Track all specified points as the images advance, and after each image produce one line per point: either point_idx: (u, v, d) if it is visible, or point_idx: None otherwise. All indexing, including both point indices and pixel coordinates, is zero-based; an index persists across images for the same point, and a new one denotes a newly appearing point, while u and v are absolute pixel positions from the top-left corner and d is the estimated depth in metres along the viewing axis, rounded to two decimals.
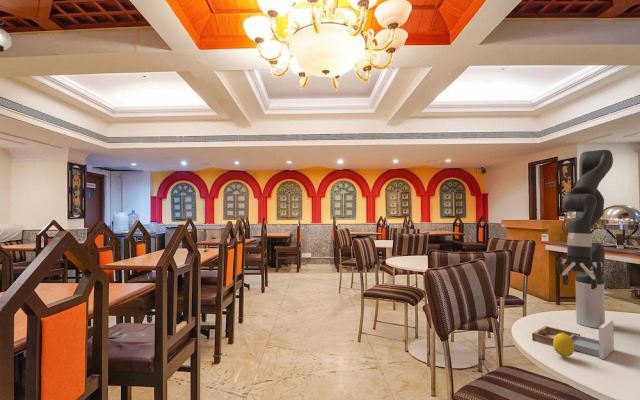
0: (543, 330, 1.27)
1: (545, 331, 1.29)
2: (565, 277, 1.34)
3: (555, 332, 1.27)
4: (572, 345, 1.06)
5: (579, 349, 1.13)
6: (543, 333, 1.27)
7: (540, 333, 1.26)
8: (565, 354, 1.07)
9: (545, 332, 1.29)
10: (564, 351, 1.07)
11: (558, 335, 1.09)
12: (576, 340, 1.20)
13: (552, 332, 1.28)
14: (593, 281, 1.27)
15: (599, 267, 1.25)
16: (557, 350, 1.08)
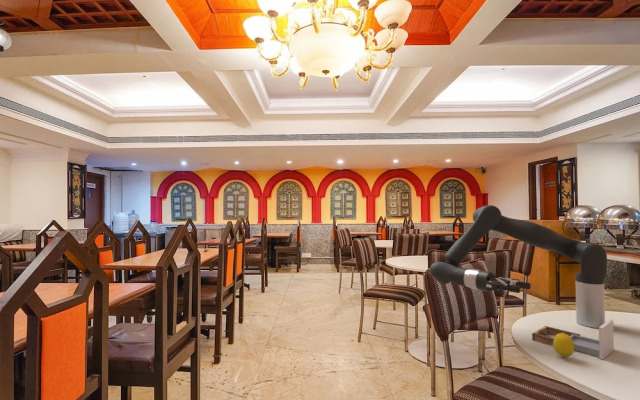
0: (543, 330, 1.27)
1: (545, 331, 1.29)
2: (520, 287, 1.23)
3: (555, 332, 1.27)
4: (572, 345, 1.06)
5: (579, 349, 1.13)
6: (543, 333, 1.27)
7: (540, 333, 1.26)
8: (565, 354, 1.07)
9: (545, 332, 1.29)
10: (564, 351, 1.07)
11: (558, 335, 1.09)
12: (576, 340, 1.20)
13: (552, 332, 1.28)
14: (510, 291, 1.17)
15: (491, 289, 1.21)
16: (557, 350, 1.08)
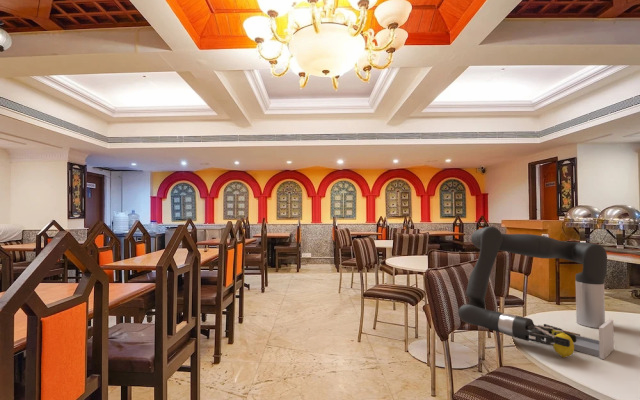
0: None
1: None
2: None
3: None
4: (572, 345, 1.06)
5: (579, 349, 1.13)
6: None
7: None
8: (565, 354, 1.07)
9: None
10: (564, 351, 1.07)
11: (558, 335, 1.09)
12: None
13: None
14: (558, 343, 1.07)
15: None
16: (557, 350, 1.08)
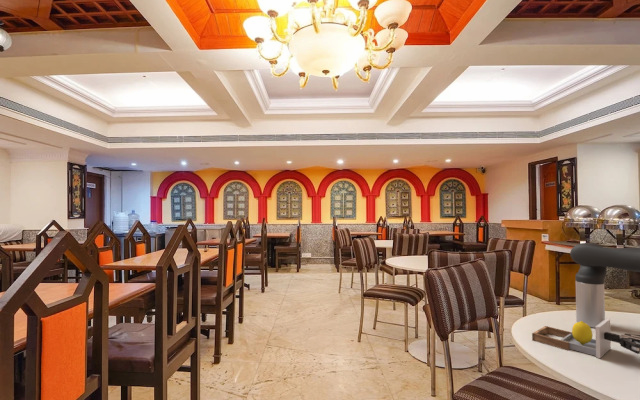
0: (543, 330, 1.27)
1: (545, 331, 1.29)
2: (617, 334, 1.09)
3: (555, 332, 1.27)
4: (590, 332, 1.14)
5: (576, 348, 1.13)
6: (543, 333, 1.27)
7: (540, 333, 1.26)
8: (584, 341, 1.14)
9: (545, 332, 1.29)
10: (582, 338, 1.14)
11: (577, 323, 1.17)
12: (573, 340, 1.20)
13: (552, 332, 1.28)
14: (616, 335, 1.08)
15: (632, 342, 1.02)
16: (576, 337, 1.16)
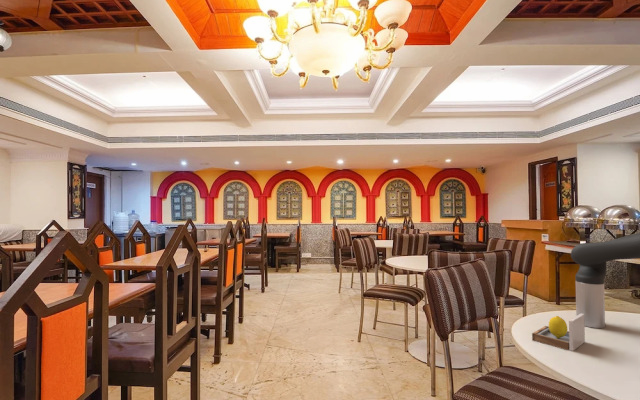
0: None
1: None
2: None
3: None
4: (565, 327, 1.20)
5: None
6: None
7: None
8: (559, 335, 1.20)
9: None
10: (557, 332, 1.20)
11: (553, 318, 1.22)
12: (550, 334, 1.26)
13: None
14: None
15: None
16: (552, 331, 1.21)
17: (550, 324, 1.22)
